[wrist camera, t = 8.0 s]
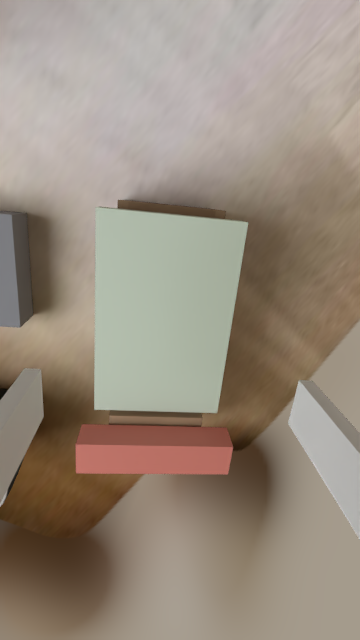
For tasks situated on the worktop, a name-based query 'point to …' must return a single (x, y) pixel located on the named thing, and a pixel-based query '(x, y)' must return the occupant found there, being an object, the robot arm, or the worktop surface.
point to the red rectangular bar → (152, 449)
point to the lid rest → (14, 270)
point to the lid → (163, 308)
